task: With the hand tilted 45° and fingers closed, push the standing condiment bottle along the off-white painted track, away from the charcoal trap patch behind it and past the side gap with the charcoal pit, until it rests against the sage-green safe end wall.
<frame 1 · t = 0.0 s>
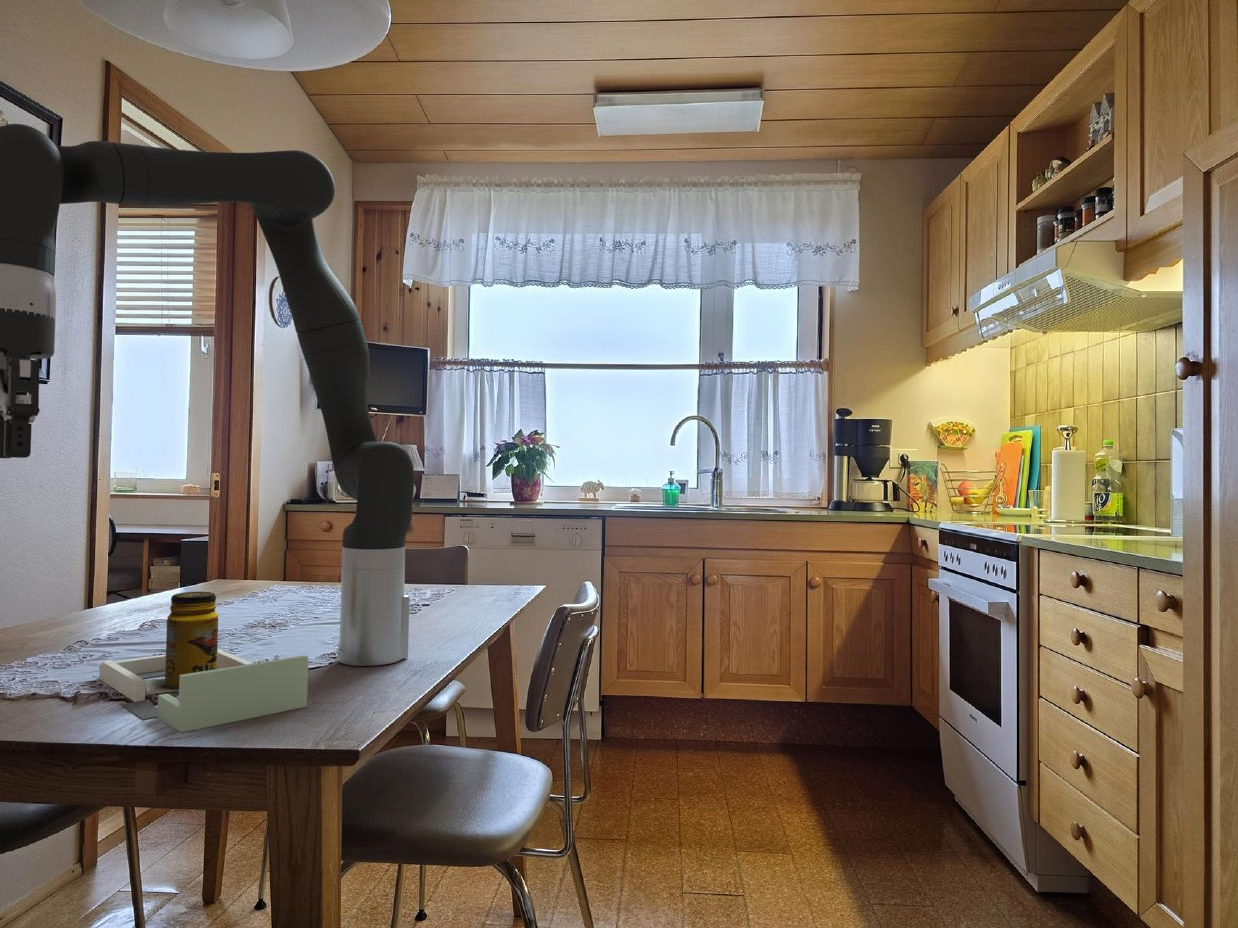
hand: (8, 457, 86), 29 cm above the table, tool pointing down, fingers open, 8 cm apart
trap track: (197, 691, 100), on the table
condiment: (183, 686, 103), on the table
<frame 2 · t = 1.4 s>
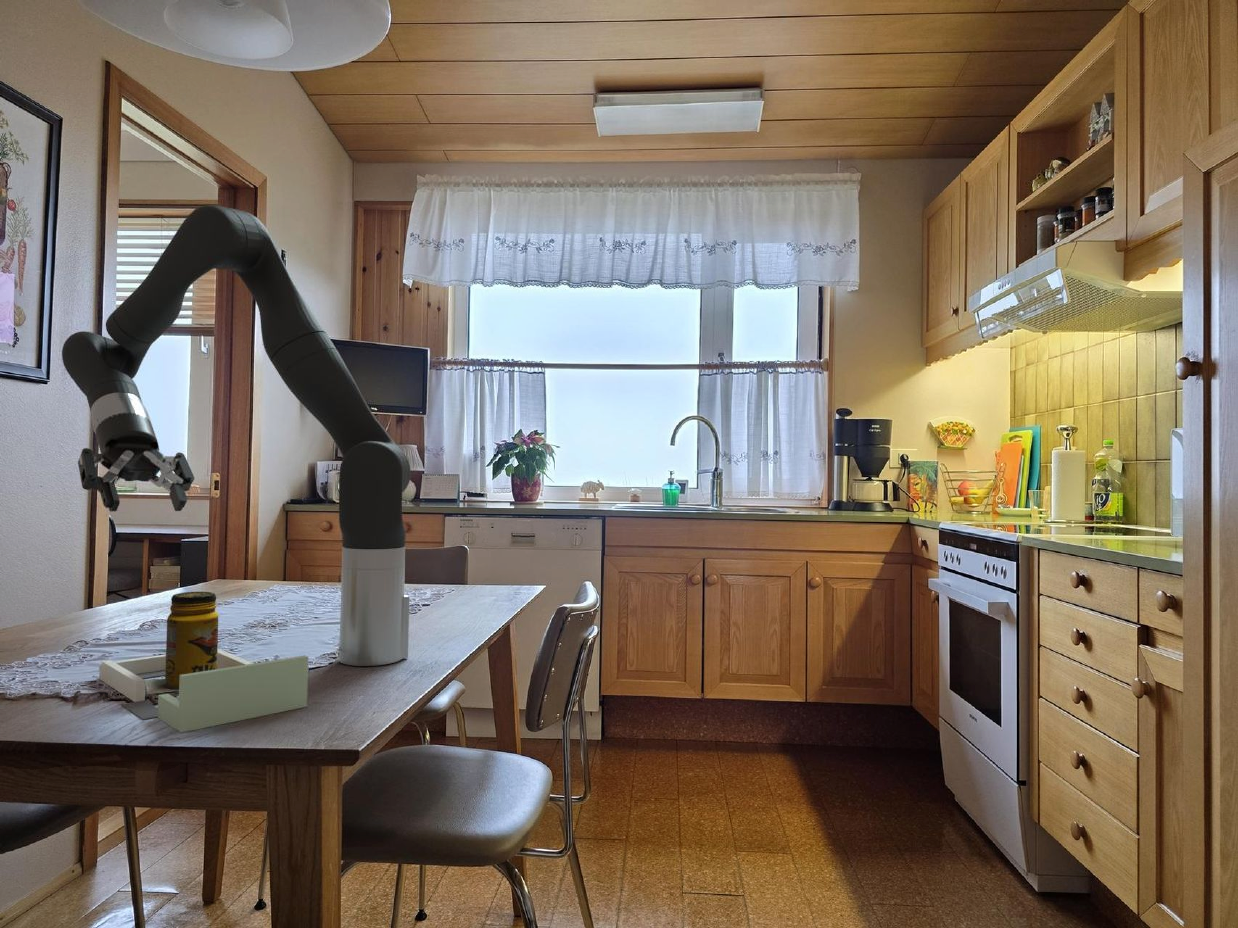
hand: (148, 507, 113), 23 cm above the table, tool tilted 45°, fingers open, 8 cm apart
nothing on the table moved.
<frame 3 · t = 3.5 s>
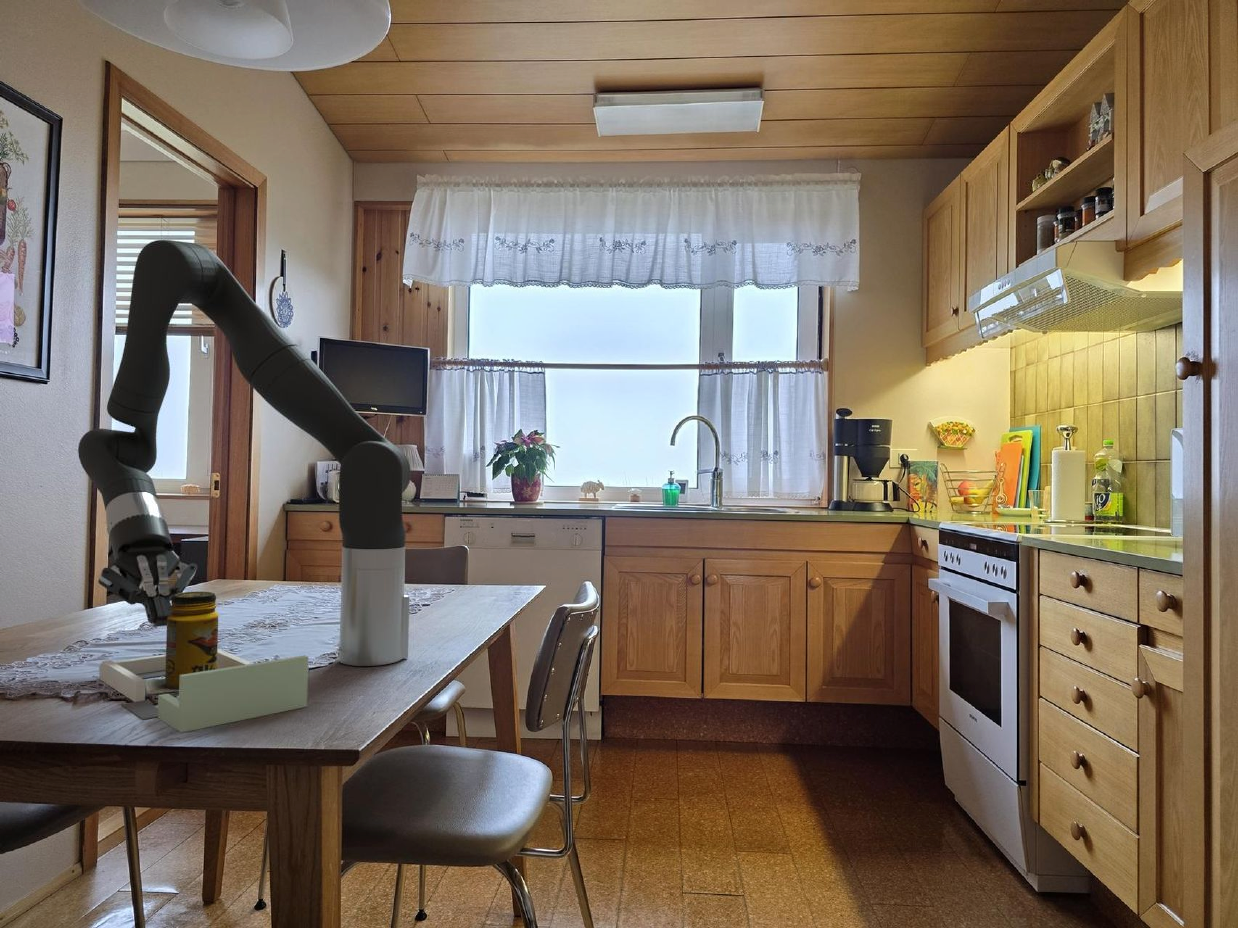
hand: (162, 622, 109), 7 cm above the table, tool tilted 45°, fingers closed
nothing on the table moved.
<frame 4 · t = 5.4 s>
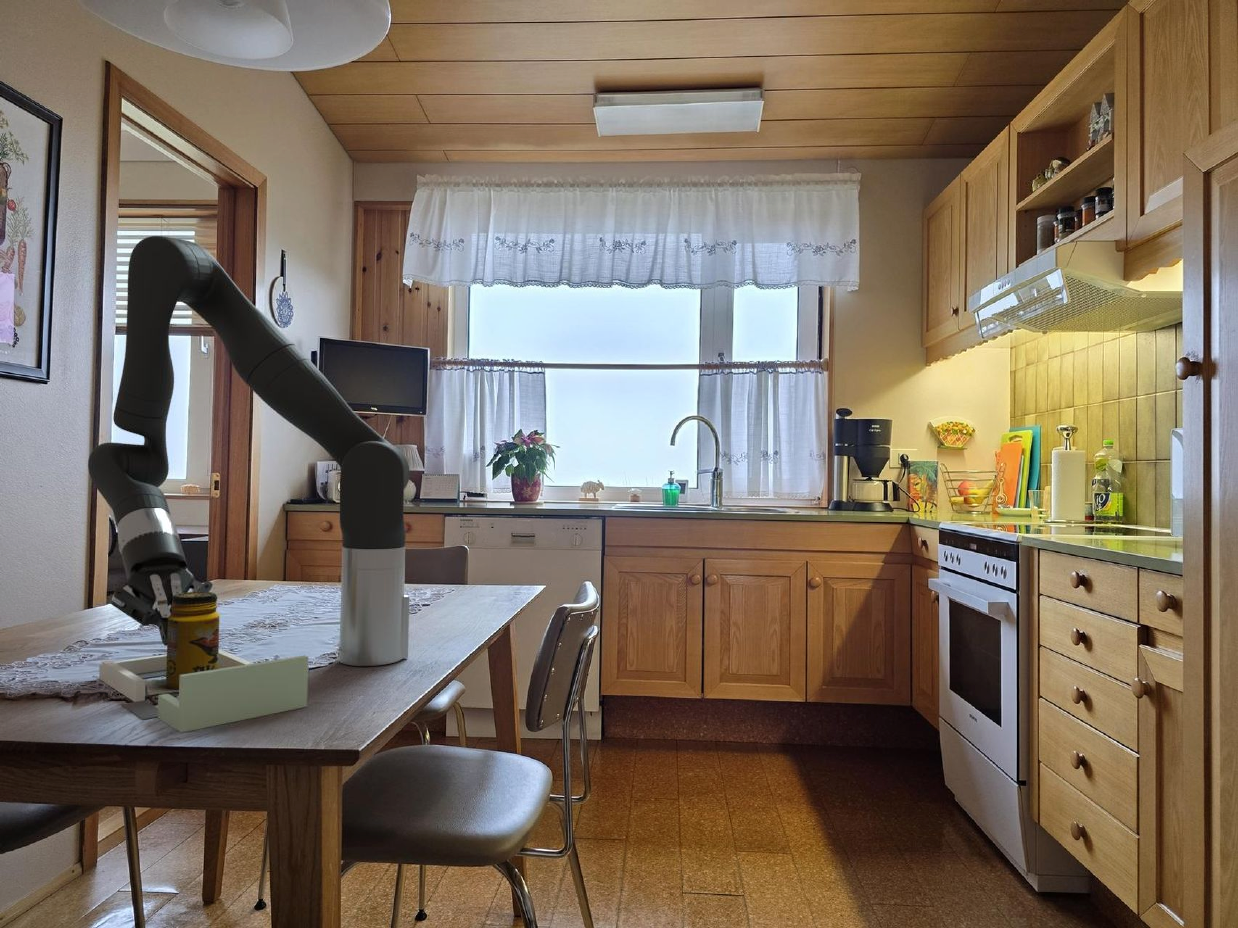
hand: (177, 644, 105), 5 cm above the table, tool tilted 45°, fingers closed
condiment: (184, 687, 103), on the table, touching gripper
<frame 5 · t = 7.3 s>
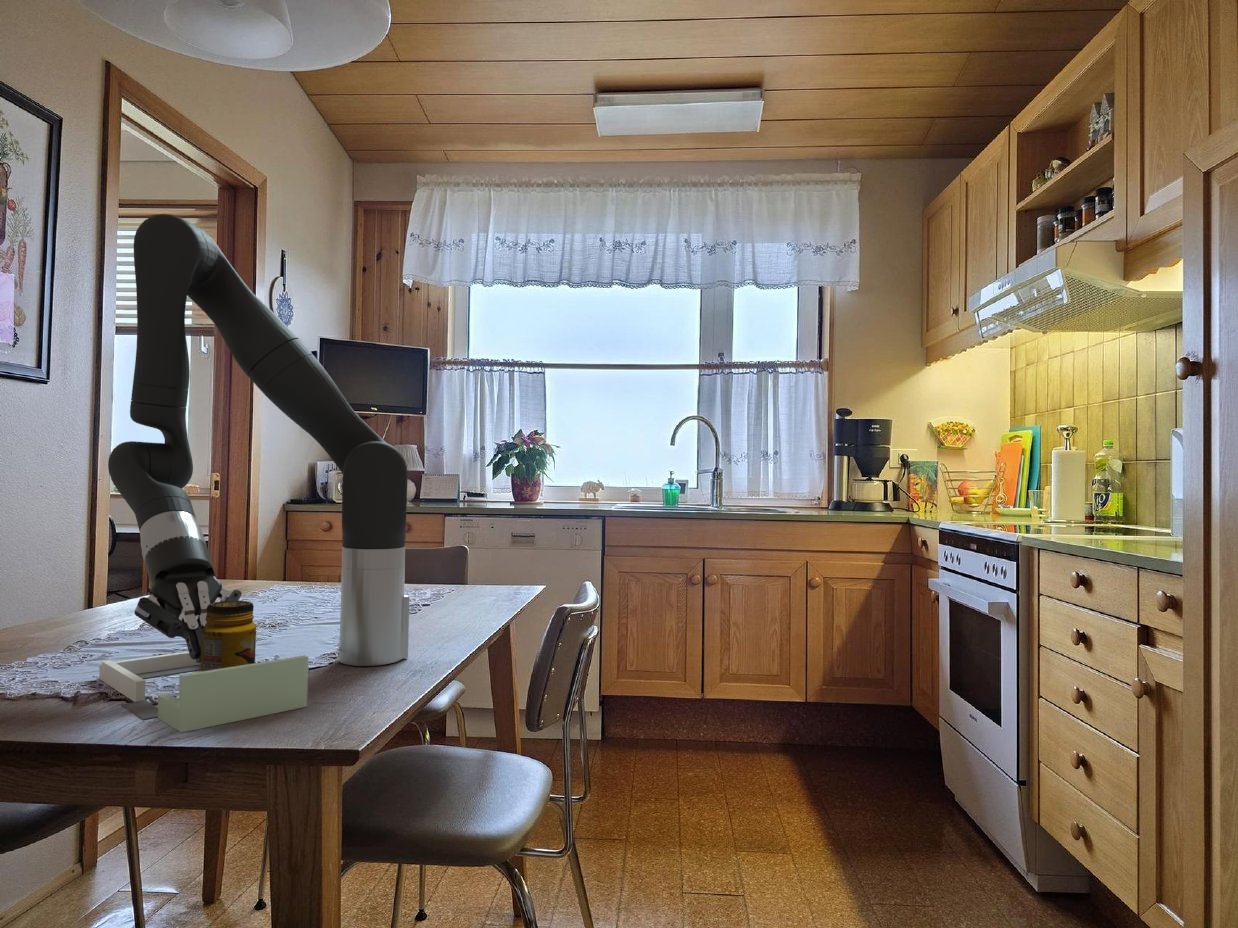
hand: (205, 658, 98), 5 cm above the table, tool tilted 45°, fingers closed
condiment: (219, 703, 96), on the table, touching gripper
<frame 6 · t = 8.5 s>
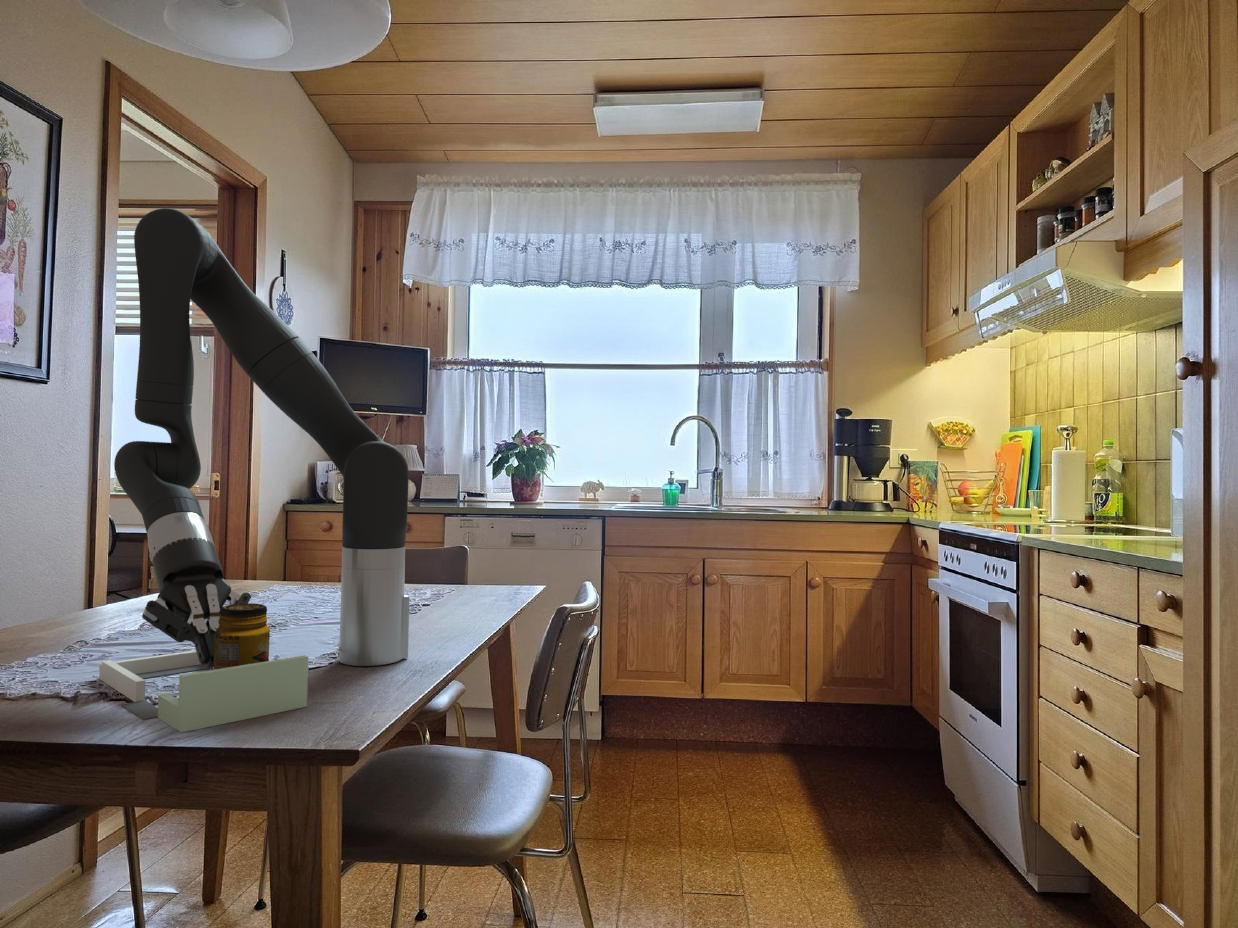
hand: (215, 663, 95), 5 cm above the table, tool tilted 45°, fingers closed
condiment: (232, 708, 94), on the table, touching gripper
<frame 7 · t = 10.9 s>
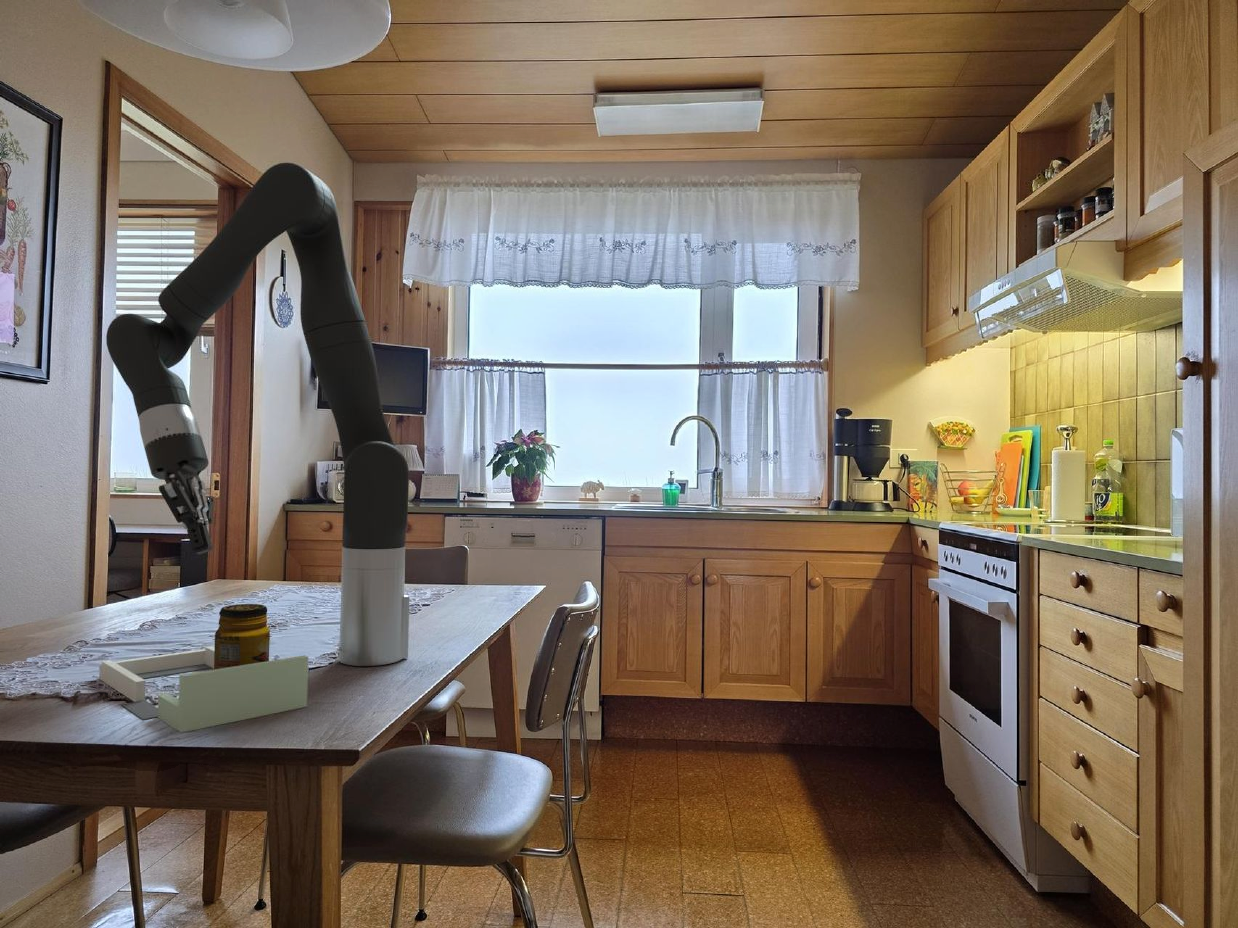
hand: (203, 551, 111), 17 cm above the table, tool tilted 25°, fingers closed
condiment: (233, 709, 94), on the table
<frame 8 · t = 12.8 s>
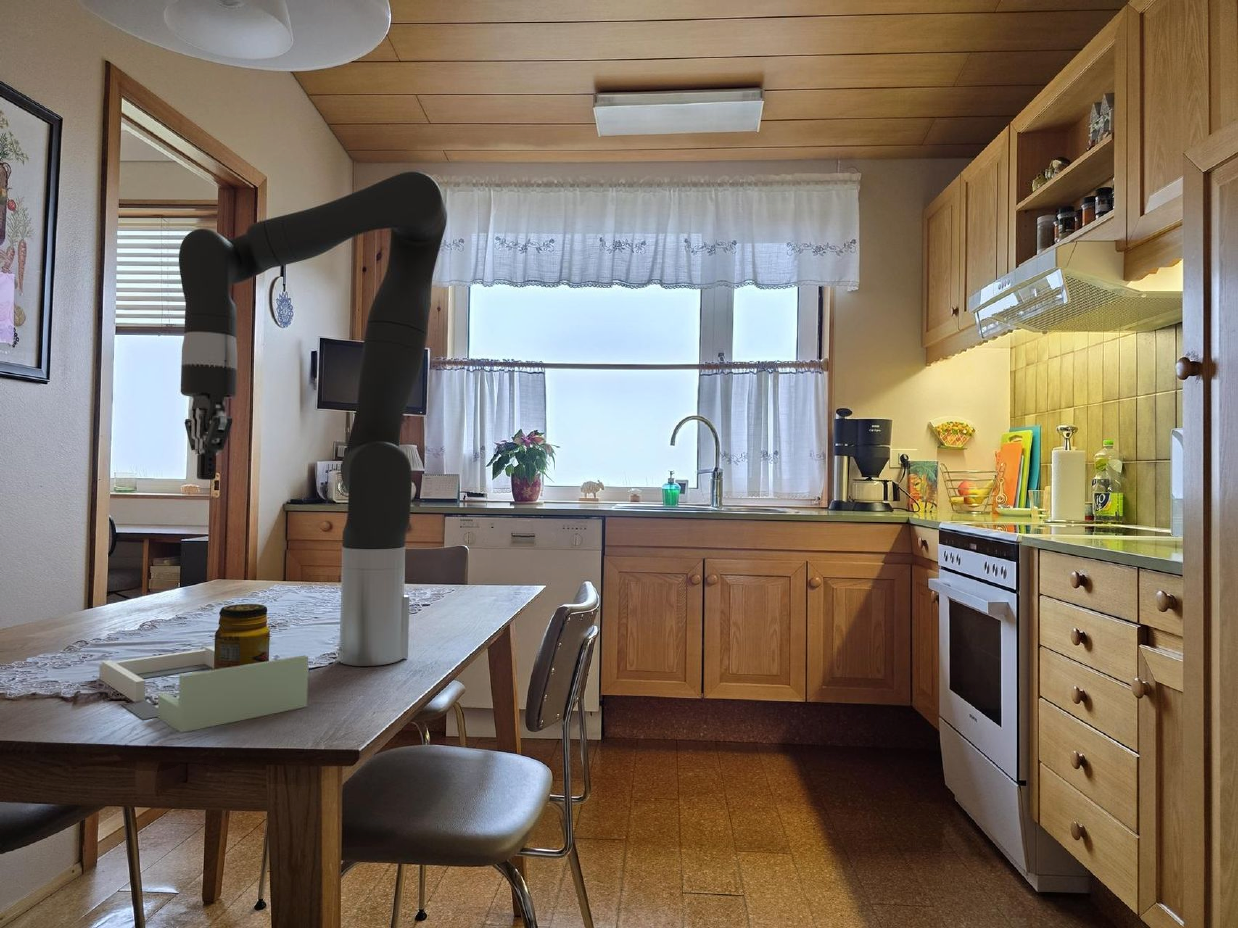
hand: (206, 479, 118), 27 cm above the table, tool pointing down, fingers closed
nothing on the table moved.
at the end: condiment inside the target area (1.5 cm from its centre), on the table; condiment tilted 0°; condiment moved 14.7 cm from its start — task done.
